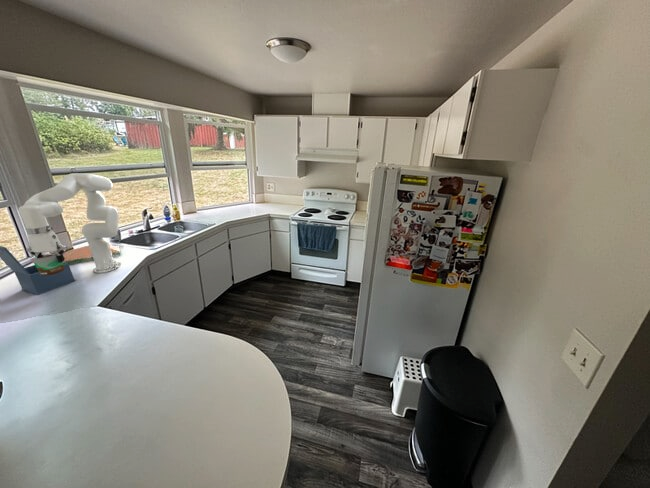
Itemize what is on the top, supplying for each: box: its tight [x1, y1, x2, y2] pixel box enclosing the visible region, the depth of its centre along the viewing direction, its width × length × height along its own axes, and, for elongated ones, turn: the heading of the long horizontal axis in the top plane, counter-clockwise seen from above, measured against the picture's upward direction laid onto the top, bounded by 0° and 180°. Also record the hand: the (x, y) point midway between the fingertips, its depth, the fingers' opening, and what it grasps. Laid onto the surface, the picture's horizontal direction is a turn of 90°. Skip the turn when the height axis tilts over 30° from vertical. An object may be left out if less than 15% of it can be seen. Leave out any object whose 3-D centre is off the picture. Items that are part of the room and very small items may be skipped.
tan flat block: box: [63, 243, 121, 266], centre depth 184 cm, size 23×33×8 cm
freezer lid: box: [0, 245, 30, 275], centre depth 128 cm, size 17×15×5 cm
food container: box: [30, 252, 65, 276], centre depth 130 cm, size 12×6×10 cm, turn 171°
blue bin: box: [13, 261, 76, 295], centre depth 144 cm, size 17×15×12 cm
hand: (52, 262), depth 130 cm, fingers closed on food container, 7 cm apart
